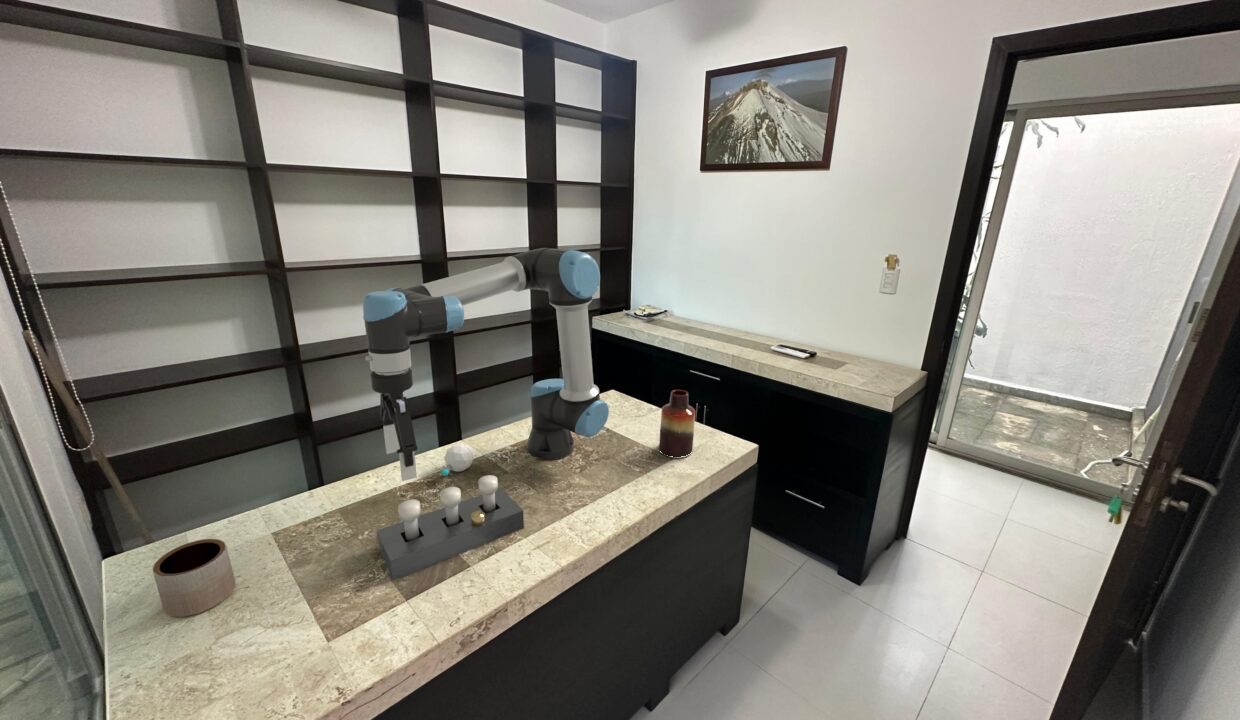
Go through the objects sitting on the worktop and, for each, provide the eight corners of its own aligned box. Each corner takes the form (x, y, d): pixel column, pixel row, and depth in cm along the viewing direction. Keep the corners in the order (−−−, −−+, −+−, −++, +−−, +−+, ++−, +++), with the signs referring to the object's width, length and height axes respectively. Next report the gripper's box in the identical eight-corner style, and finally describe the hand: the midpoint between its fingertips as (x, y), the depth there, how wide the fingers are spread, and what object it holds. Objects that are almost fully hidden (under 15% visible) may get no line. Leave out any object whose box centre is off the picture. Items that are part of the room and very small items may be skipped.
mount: (502, 504, 128) (501, 488, 126) (523, 528, 119) (523, 510, 117) (378, 549, 110) (376, 530, 109) (392, 580, 101) (390, 560, 100)
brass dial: (481, 516, 115) (481, 509, 114) (486, 522, 113) (486, 515, 112) (469, 520, 113) (468, 513, 112) (474, 527, 111) (473, 519, 110)
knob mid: (458, 514, 116) (456, 484, 114) (465, 523, 113) (463, 493, 111) (440, 520, 114) (437, 490, 111) (446, 530, 110) (443, 499, 108)
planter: (153, 626, 89) (140, 583, 86) (177, 585, 98) (165, 545, 95) (227, 609, 93) (216, 567, 90) (243, 571, 102) (233, 532, 100)
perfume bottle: (483, 454, 146) (462, 479, 135) (465, 464, 150) (443, 489, 139) (467, 434, 144) (444, 457, 134) (449, 445, 148) (425, 468, 137)
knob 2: (494, 501, 122) (492, 473, 119) (501, 510, 118) (500, 481, 116) (477, 507, 119) (475, 478, 117) (484, 516, 116) (482, 487, 113)
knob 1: (419, 527, 111) (416, 497, 109) (425, 537, 108) (422, 506, 105) (399, 534, 108) (395, 504, 106) (404, 545, 105) (401, 514, 103)
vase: (669, 439, 167) (673, 384, 161) (697, 449, 161) (702, 391, 155) (652, 451, 159) (656, 393, 153) (682, 461, 153) (686, 401, 147)
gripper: (358, 356, 105) (369, 446, 111) (385, 391, 86) (396, 497, 92) (395, 352, 109) (404, 438, 115) (429, 384, 90) (436, 485, 96)
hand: (400, 464), depth 104 cm, fingers open, 13 cm apart
